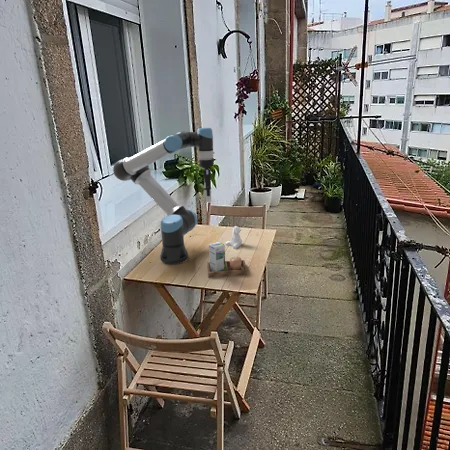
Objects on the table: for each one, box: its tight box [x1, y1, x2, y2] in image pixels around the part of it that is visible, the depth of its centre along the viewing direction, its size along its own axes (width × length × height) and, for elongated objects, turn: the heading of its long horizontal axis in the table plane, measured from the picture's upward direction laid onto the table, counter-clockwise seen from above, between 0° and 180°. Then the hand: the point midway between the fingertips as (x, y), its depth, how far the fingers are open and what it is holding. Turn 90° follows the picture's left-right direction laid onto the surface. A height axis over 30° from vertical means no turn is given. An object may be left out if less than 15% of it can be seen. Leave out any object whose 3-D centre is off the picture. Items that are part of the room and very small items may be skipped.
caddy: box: [206, 259, 248, 278], centre depth 188 cm, size 19×12×4 cm, turn 95°
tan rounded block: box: [229, 256, 242, 271], centre depth 187 cm, size 6×6×6 cm
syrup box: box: [208, 241, 226, 272], centre depth 186 cm, size 6×6×14 cm
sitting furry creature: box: [225, 225, 243, 250], centre depth 220 cm, size 10×9×12 cm
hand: (208, 198), depth 202 cm, fingers open, 13 cm apart
